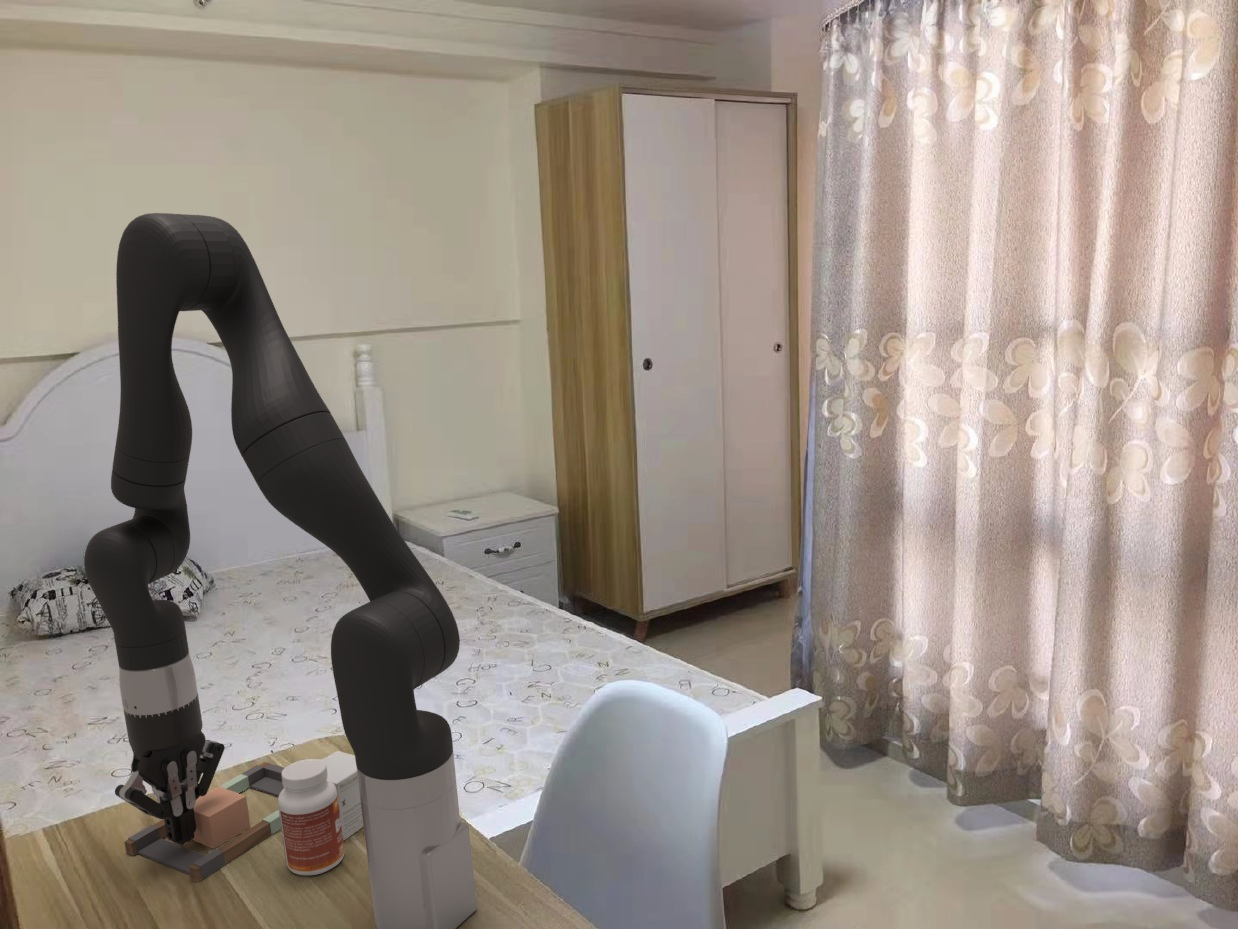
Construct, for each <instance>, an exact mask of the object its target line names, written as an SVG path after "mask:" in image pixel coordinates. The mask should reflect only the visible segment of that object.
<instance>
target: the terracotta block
mask: <svg viewBox="0 0 1238 929" xmlns="http://www.w3.org/2000/svg"><path fill="white" fill-rule="evenodd" d="M220 786H221V785H218V786H216V787H214V788H212V789H211V790H208V792H207V794H206V795H205V796H200V797H199V798H198V799H197V800H196V803H195V806H194V807H193V808H194V815H195V821H196V832H194V838H193V839H192V840H191V841H195V842H197V843H199V844H202V845H204V846H205V847H208V848H211V849H213V850H215V849H217V848H219V846H220V847H221V846H222V844H223V845H224V844H226V843H227V842H229V841H231V840H232V839H234V838H236V837H237V836H239V835H240V834H242V833H244V832H245V831H247V830H248V829H250V828H251V820H250V814H249V808H248V801H247V795H244V794H241V793H240V794H239V793H236V792H233V791H231V790H228V789H225V788H223V787H220Z"/></svg>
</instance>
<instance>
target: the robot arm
mask: <svg viewBox="0 0 1238 929" xmlns="http://www.w3.org/2000/svg"><path fill="white" fill-rule="evenodd" d="M115 275H116V284H115V285H116V306H117V307H116V309H117V338H118V340H117V342H118V354H119V355H118V356H119V376H120V378H119V379H120V380H119V382H120V394H119V395H120V397H119V398H120V401H119V417H118V424H117V425H118V426H117V434H116V439H115V446H114V456H113V460H112V461H113V462H112V468H111V476H110V490H111V492H112V495H113V497H114V498H115V499H116V500H117V501H118V502H119V503H121V504H123V505H125V506H127V507H130V508H133V509H134V512H133V516H132V518H131V519H128V520H126V521H122V522H119V523H118V524H115V525H112V526H110V527H107V528H104V529H102V530H100V531H98V532H97V533H95V534H94V535H93V536H92V537H91V538H90V540H89V542H88V543H87V545H86V549H85V551H84V552H85V553H84V557H83V558H84V559H83V560H84V561H83V566H84V572H85V576H86V579H87V582H88V583H89V587H90V588H91V590H92V592H93V594H94V595H95V598H96V600H97V602H98V604H99V605H100V608H101V610H102V612H103V614H104V616H105V618H106V620H107V622H108V623H109V625H110V626H109V627H111V629H112V632H113V639H114V644H115V649H116V656H117V662H118V669H119V678H118V679H119V682H118V683H119V691H120V696H121V697H120V698H121V704H122V708H123V715H124V720H125V727H126V732H127V739H128V743H129V746H130V747H131V750H132V753H133V756H132V760H131V763H130V764H131V765H130V766H131V767H130V768H131V772H132V773H131V775H130V776H129V778H128V779H127V781H126V782H125V784H118V785H117V786H116V788H115V790H114V795H115V796H116V797H118V798H119V799H121V800H123V801H125V802H126V803H127V804H129V805H131V806H132V807H134V808H136V809H137V810H139V811H140V812H142V813H144V814H146V815H148V816H151V817H154V818H157V819H160V820H163V819H164V822H165V828H166V835H167V836H166V838H167V839H168V841H170V842H173V843H175V844H178V845H180V846H183V845H185V844H186V843H188V842H190V841H193V840H192V839H193V838H194V832H196V821H195V815H194V808H193V807H194V806H195V803H196V800H197V799H198V798H199V797H200V796H205V795H206V794H207V792H208V791H209V789H210V787H211V784H212V781H213V779H214V777H215V775H216V774H215V773H216V771H217V768H219V767H218V766H219V765H220V761H221V758H222V756H223V754H224V751H225V744H223V743H220V742H218V741H215V740H210V739H207V738H206V736H205V734H204V732H203V731H202V730H203V719H202V713H201V712H202V711H201V707H200V701H199V693H198V686H197V679H196V673H195V668H194V664H193V661H192V658H191V654H190V648H189V643H188V637H187V629H186V623H185V618H184V614H183V611H182V609H181V607H180V606H179V605H178V604H177V603H176V602H175V601H172V600H167V599H153V597H152V594H151V593H150V589H149V585H150V584H151V583H153V582H156V581H158V580H160V579H162V578H165V577H167V576H169V575H171V574H173V573H174V572H176V571H177V570H178V569H179V568H181V566H182V564H183V563H184V561H185V559H186V558H187V555H188V552H189V549H190V544H191V529H190V528H191V527H190V522H189V519H190V518H189V514H188V513H189V511H188V504H187V499H186V493H185V485H186V480H187V474H188V469H189V462H190V457H191V456H190V454H191V450H192V444H193V442H192V441H193V424H192V418H191V412H190V410H189V406H188V403H187V400H186V398H185V396H184V393H183V390H182V388H181V386H180V383H179V379H178V378H177V375H176V371H175V367H174V362H173V357H172V356H173V353H172V347H173V345H172V344H173V337H174V336H173V335H174V331H175V326H176V324H177V319H178V317H179V314H180V312H194V311H202V313H204V315H205V316H206V318H207V319H208V320H209V322H210V323H211V325H212V326H213V327H214V329H215V331H216V333H217V335H218V337H219V338H220V341H221V343H222V345H223V347H224V349H225V351H226V353H227V356H228V359H229V363H230V366H231V373H232V374H231V375H232V376H231V378H232V383H231V406H230V407H231V408H230V411H231V412H230V417H231V430H232V436H233V440H234V443H235V445H236V448H237V450H238V452H239V453H240V456H241V458H242V460H243V461H244V463H245V464H246V466H247V468H248V470H249V471H250V474H251V476H252V477H253V479H254V481H255V483H256V485H257V487H258V488H259V490H260V491H261V494H263V496H264V498H265V499H266V500H267V501H268V503H269V504H270V505H271V506H272V507H273V508H274V509H275V510H276V511H277V512H279V513H280V514H281V515H282V516H284V518H287V520H289V521H290V522H291V523H293V524H294V525H296V526H297V527H299V528H300V529H301V530H302V531H305V532H306V533H307V534H309V535H310V536H311V537H313V538H314V539H316V540H317V541H319V542H321V543H322V544H323V545H325V546H326V547H327V548H328V549H330V550H331V551H332V552H334V554H335V555H337V556H338V557H339V558H340V559H341V560H342V562H343V563H345V564H346V565H347V567H348V568H349V569H350V571H351V572H352V574H353V576H355V578H356V579H357V581H358V582H359V585H360V586H361V587H362V589H363V591H364V593H365V595H366V596H367V599H368V600H369V602H366V603H364V604H363V605H361V606H357V607H356V608H354V609H352V610H350V611H348V612H347V613H345V614H344V615H342V616H341V617H340V618H339V619H338V620H337V622H336V624H335V625H334V628H333V631H332V635H331V640H330V657H331V658H330V660H331V667H332V674H333V679H334V685H335V690H336V695H337V700H338V706H339V711H340V717H341V723H342V727H343V731H344V734H345V737H346V739H347V740H348V744H349V745H350V747H351V749H352V751H353V755H355V760H356V767H357V775H358V783H359V791H360V801H361V809H362V817H363V826H364V827H363V832H364V833H363V834H364V841H365V849H366V858H367V859H366V860H367V867H368V874H369V881H370V882H369V884H370V890H371V898H372V906H373V914H374V915H373V916H374V922H375V926H376V929H457V928H458V927H459V926H460V925H462V923H464V921H466V920H467V919H468V918H469V917H470V916H471V915H472V914H473V913H474V912H476V911H477V909H478V906H477V896H476V894H477V893H476V888H475V876H474V866H473V857H472V846H471V845H472V844H471V835H470V834H471V833H470V826H469V824H467V823H466V822H462V821H461V816H460V805H459V796H458V785H457V776H456V766H455V764H456V763H455V755H454V746H453V745H454V743H453V736H452V728H451V725H450V724H449V722H448V720H446V718H445V717H443V716H442V715H440V714H438V713H435V712H431V711H428V710H422V709H418V707H417V703H416V698H415V689H417V688H418V687H420V686H422V685H424V684H425V683H427V682H429V681H430V680H432V679H434V678H435V677H437V676H438V675H440V674H442V673H443V672H445V671H446V670H447V669H449V668H450V667H451V666H452V665H453V664H454V662H455V661H456V659H457V657H458V654H459V651H460V646H461V645H460V642H461V641H460V630H459V628H458V627H459V626H458V624H457V621H456V618H455V616H454V613H453V611H452V609H451V608H450V606H449V604H448V602H447V600H446V599H445V597H444V596H443V594H442V592H441V591H440V589H439V588H438V587H437V585H436V584H435V582H434V580H432V578H431V576H430V575H429V574H428V572H427V571H426V569H425V567H424V566H423V564H421V562H420V560H418V558H417V557H416V555H415V554H414V552H413V550H412V549H411V548H410V547H409V545H408V544H407V542H406V541H405V540H404V537H402V535H401V534H400V532H399V530H398V529H397V527H396V526H395V523H393V521H392V519H391V517H390V516H389V515H388V513H387V511H386V509H385V507H384V506H383V504H382V502H381V501H380V500H379V498H378V496H377V494H376V493H375V491H374V489H373V488H372V486H371V484H370V482H369V481H368V479H367V478H366V476H365V474H364V472H363V471H362V469H361V467H360V465H359V463H358V461H357V459H356V457H355V456H354V453H353V452H352V449H351V447H350V445H349V443H348V441H347V440H346V438H345V436H344V434H343V432H342V430H341V429H340V427H339V425H338V423H337V421H336V420H335V418H334V417H333V415H332V413H331V411H330V409H329V408H328V406H327V404H326V403H325V401H324V400H323V398H322V396H321V394H320V393H319V391H318V390H317V388H316V386H315V384H314V382H313V380H312V379H311V377H310V375H309V373H308V371H307V370H306V367H305V365H304V364H303V362H302V360H301V358H300V356H299V354H298V351H297V350H296V348H295V346H294V345H293V342H292V340H291V338H290V337H289V335H288V333H287V331H286V329H285V327H284V325H283V323H282V321H281V318H280V316H279V314H278V312H277V310H276V307H275V305H274V302H273V299H272V297H271V295H270V293H269V290H268V288H267V285H266V284H265V282H264V277H263V276H262V274H261V272H260V269H259V267H258V265H257V262H256V261H255V258H254V257H253V254H252V252H251V250H250V248H249V246H248V245H247V243H246V241H245V240H244V238H243V237H242V235H241V234H240V233H239V231H238V230H237V229H236V227H234V226H233V225H232V224H231V223H229V222H227V221H226V220H224V219H221V218H219V217H216V216H210V215H202V214H184V213H183V214H182V213H165V212H163V213H162V212H153V213H151V212H150V213H145V214H142V215H138V216H136V217H135V218H134V219H132V220H131V221H130V222H128V225H127V226H126V227H125V229H123V232H122V234H121V237H120V241H119V243H118V250H117V255H116V274H115ZM144 783H146V784H147V785H149V786H150V787H151V791H152V793H153V794H154V795H155V797H156V799H157V801H156V800H154V799H153V798H151V797H150V796H148V795H146V794H147V792H148V790H147V789H146V786H145V785H144Z"/></svg>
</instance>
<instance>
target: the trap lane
mask: <svg viewBox="0 0 1238 929" xmlns="http://www.w3.org/2000/svg"><path fill="white" fill-rule="evenodd" d="M284 768H285V766H280V765H277V764H274V763H271V762H268V761H263V762H261V763H260V764H258V765H257V764H256V765H254V766H252V767H251V768H249V769H247V770H246V771H244V772H242V773H240V774H238V775H236V776H235V777H233V778H231V779H229V780H228V781H226V782H224V783H222V784H221V785H219V786H220V787H223V788H225V789H228V790H231V791H233V792H236V793H240V792H242V791H243V792H245V791H247V790H248V789H249V788H248V787H251V788H250V789H252V788H254V789H253V790H255V789H257V790H256V791H258V792H261V791H262V793H265V794H267V795H271V796H275V797H277V798H278V797H279V794H280V793H281V791H282V790H283V789H284V787H283V784H282V771H283V769H284ZM247 788H248V789H247ZM246 789H247V790H246ZM244 790H245V791H244ZM243 792H242V793H243ZM240 794H241V793H240ZM280 830H282V829H281V822H280V814H279V808H278V809H277V810H275V811H274V812H272V813H270V814H269V815H267V816H266V817H264V818H263V819H262V820H261V821H260V822H258V823H256V824H255V825H253V826H252V827H250V828H248V829H246V830H245V831H243V832H241V833H240V834H238V835H236V836H235V837H233V838H231V839H230V840H228V841H227V842H225V843H223V845H220V847H217V848H215V849H213V850H211V851H210V852H208V853H206V854H205V853H201V852H199V851H197V850H193V849H190V848H188V847H186V846H183V845H180V844H177V843H175V842H173V841H171V840H167V839H164V838H167V835H166V828H165V822H164V819H160V821H157V822H156V823H154V824H150V825H149V826H147V827H145V828H143V829H141V830H140V831H138V832H136V833H134V834H133V835H131V836H129V837H128V838H127V839H126V840H124V846H125V854H128V855H130V856H132V857H134V856H136V855H137V854H138V855H139V856H142V857H145V858H147V859H149V860H152V861H154V862H157V863H160V864H162V865H164V866H166V867H170V868H172V869H175V870H178V871H180V872H182V873H184V874H187V875H189V876H190V880H192V881H195V882H197V883H199V882H201V881H203V880H204V879H206V878H207V877H209V876H211V875H212V874H213V873H215V872H217V871H218V870H220V869H221V868H223V867H224V866H226V865H227V864H228V863H230V862H231V861H233V860H235V859H236V858H238V857H239V856H241V855H243V854H244V853H245V852H247V851H249V850H250V849H251V848H254V847H255V846H256V845H257V844H259V843H261V842H262V841H264V840H266V839H267V838H269V837H270V836H272V835H274V834H276V833H277V832H279V831H280Z"/></svg>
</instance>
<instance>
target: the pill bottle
mask: <svg viewBox="0 0 1238 929" xmlns="http://www.w3.org/2000/svg"><path fill="white" fill-rule="evenodd" d="M327 775H328V773H327V767H326V763H325V762H324V761H322V760H321V759H316V758H306V759H301V760H297V761H295V762H292V763H290V764H288V765H287V766H284V769H283V771H282V784H283V787H284V789H283V790H282V791H281V793H280V794H279V797H277V805H278V807H277V808H278V809H279V814H280V822H281V829H280V830H281V835H282V841H283V848H284V856H285V862H286V866H287V868H288V869H289V870H290V871H291V872H292V873H293V874H296V875H299V876H316V875H319V874H320V875H321V874H323V873H326V872H329V871H330V870H331V869H333V868H334V867H336V866H338V865H339V863H340V862H341V861H342V860H343V859H344V856H345V843H344V841H345V840H344V841H343V834H342V826H341V819H340V811H339V803H338V795H337V790H336V787H335V785H334V783H333V782H332V781H330V780H329V779H327Z"/></svg>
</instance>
